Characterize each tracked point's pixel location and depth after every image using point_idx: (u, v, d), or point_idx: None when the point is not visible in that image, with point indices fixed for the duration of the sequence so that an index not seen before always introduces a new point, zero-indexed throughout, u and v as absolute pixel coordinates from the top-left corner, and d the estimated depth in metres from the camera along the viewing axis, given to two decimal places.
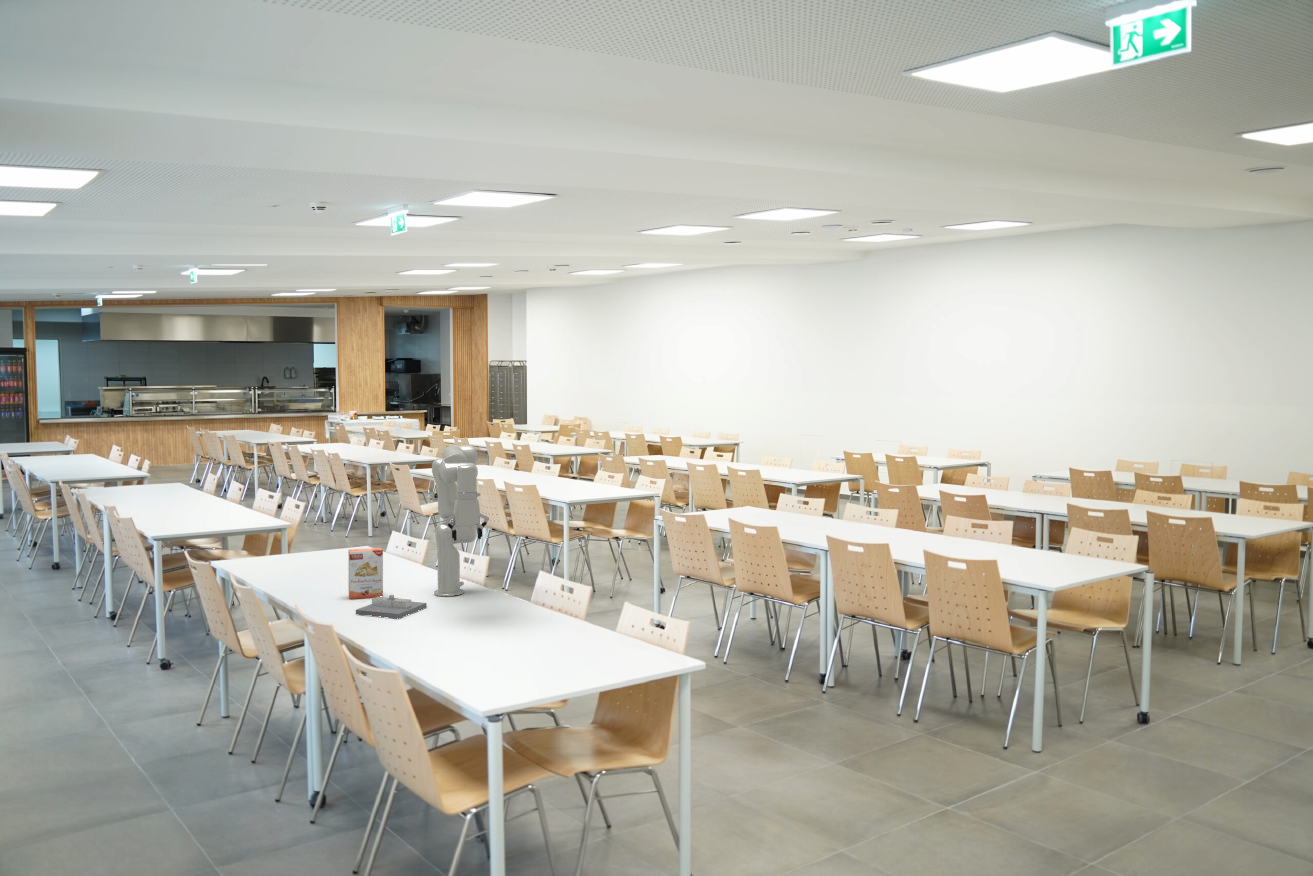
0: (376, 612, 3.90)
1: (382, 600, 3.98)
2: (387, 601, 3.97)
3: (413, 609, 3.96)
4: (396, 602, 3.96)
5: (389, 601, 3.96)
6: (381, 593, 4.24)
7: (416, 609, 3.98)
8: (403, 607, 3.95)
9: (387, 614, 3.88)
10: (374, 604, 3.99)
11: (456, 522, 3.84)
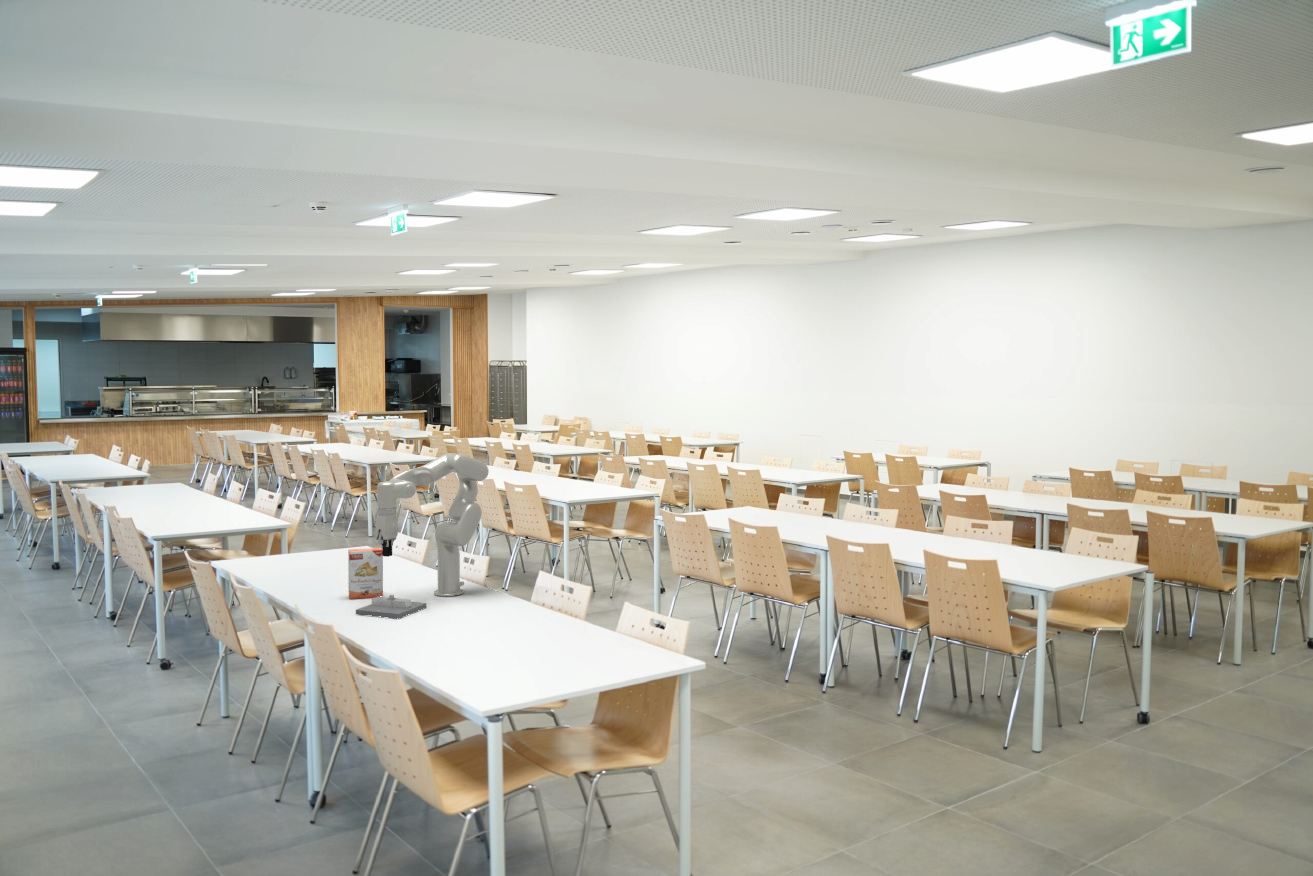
0: (376, 612, 3.90)
1: (382, 600, 3.98)
2: (387, 601, 3.97)
3: (413, 609, 3.96)
4: (396, 602, 3.96)
5: (389, 601, 3.96)
6: (381, 593, 4.24)
7: (416, 609, 3.98)
8: (403, 607, 3.95)
9: (387, 614, 3.88)
10: (374, 604, 3.99)
11: (384, 537, 4.01)
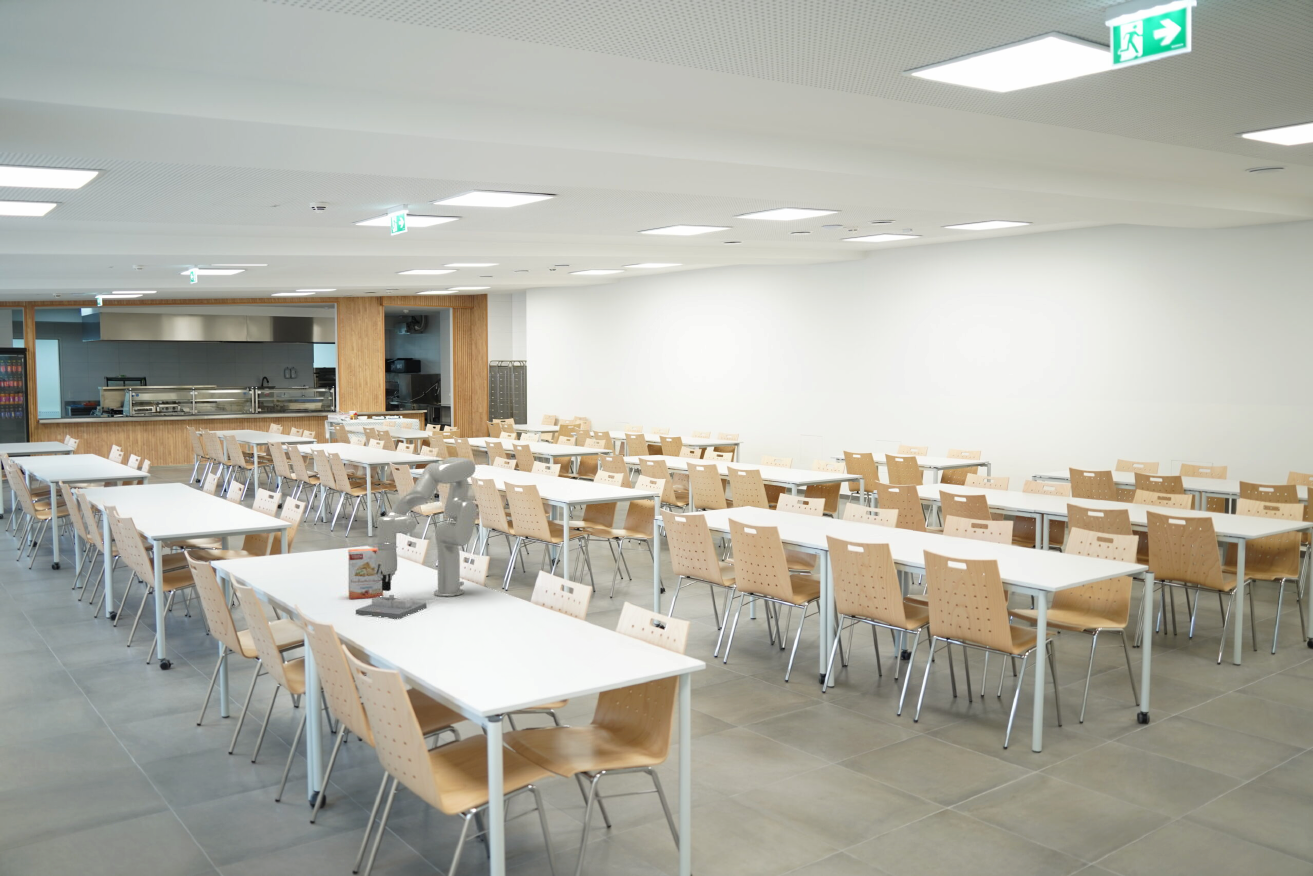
0: (376, 612, 3.90)
1: (382, 600, 3.98)
2: (387, 601, 3.97)
3: (413, 609, 3.96)
4: (396, 602, 3.96)
5: (389, 601, 3.96)
6: (381, 593, 4.24)
7: (416, 609, 3.98)
8: (403, 607, 3.95)
9: (387, 614, 3.88)
10: (374, 604, 3.99)
11: (384, 572, 4.02)
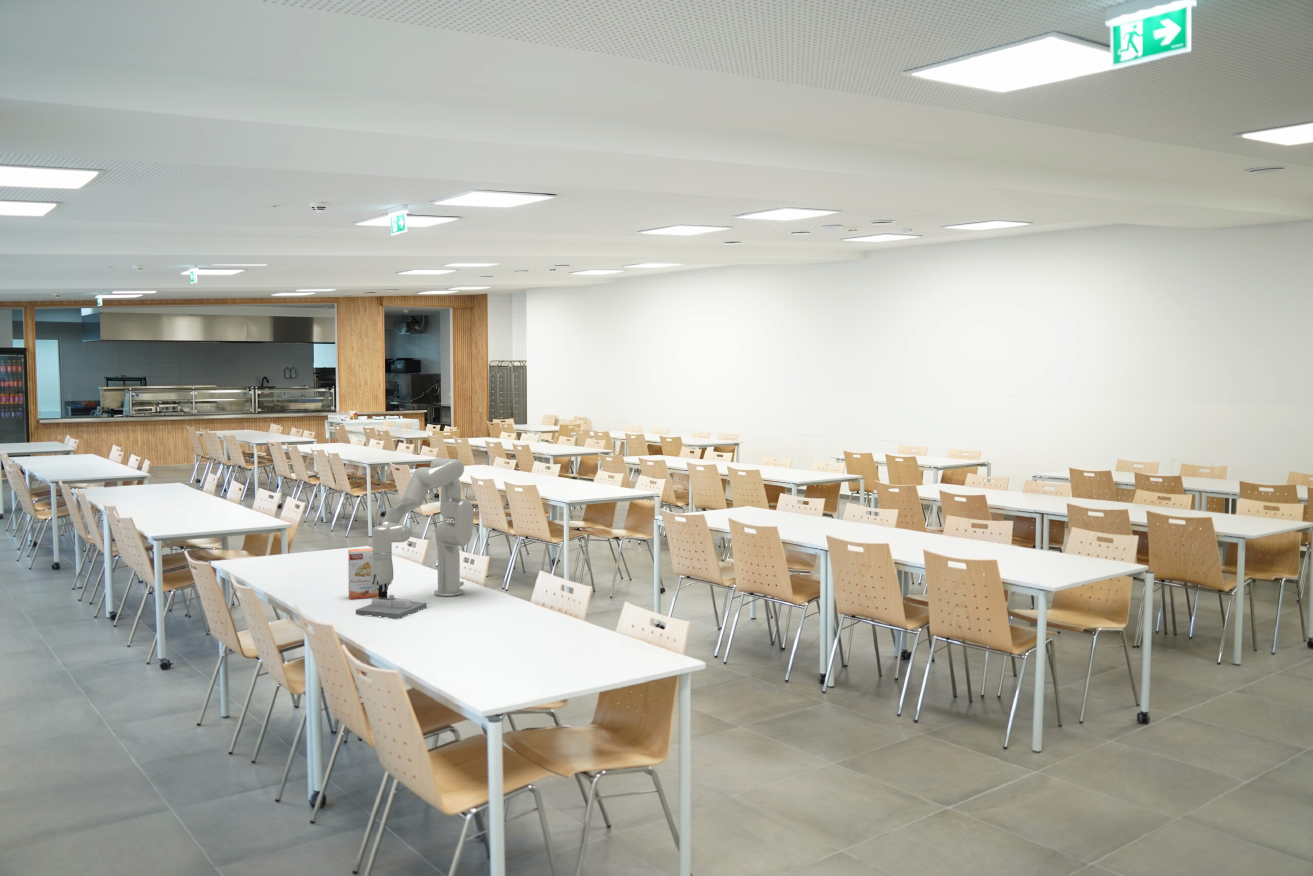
0: (376, 612, 3.90)
1: (382, 600, 3.98)
2: (387, 601, 3.96)
3: (413, 609, 3.96)
4: (396, 602, 3.96)
5: (389, 601, 3.96)
6: None
7: (416, 609, 3.98)
8: (403, 607, 3.95)
9: (387, 614, 3.88)
10: (374, 604, 3.99)
11: (380, 582, 3.99)
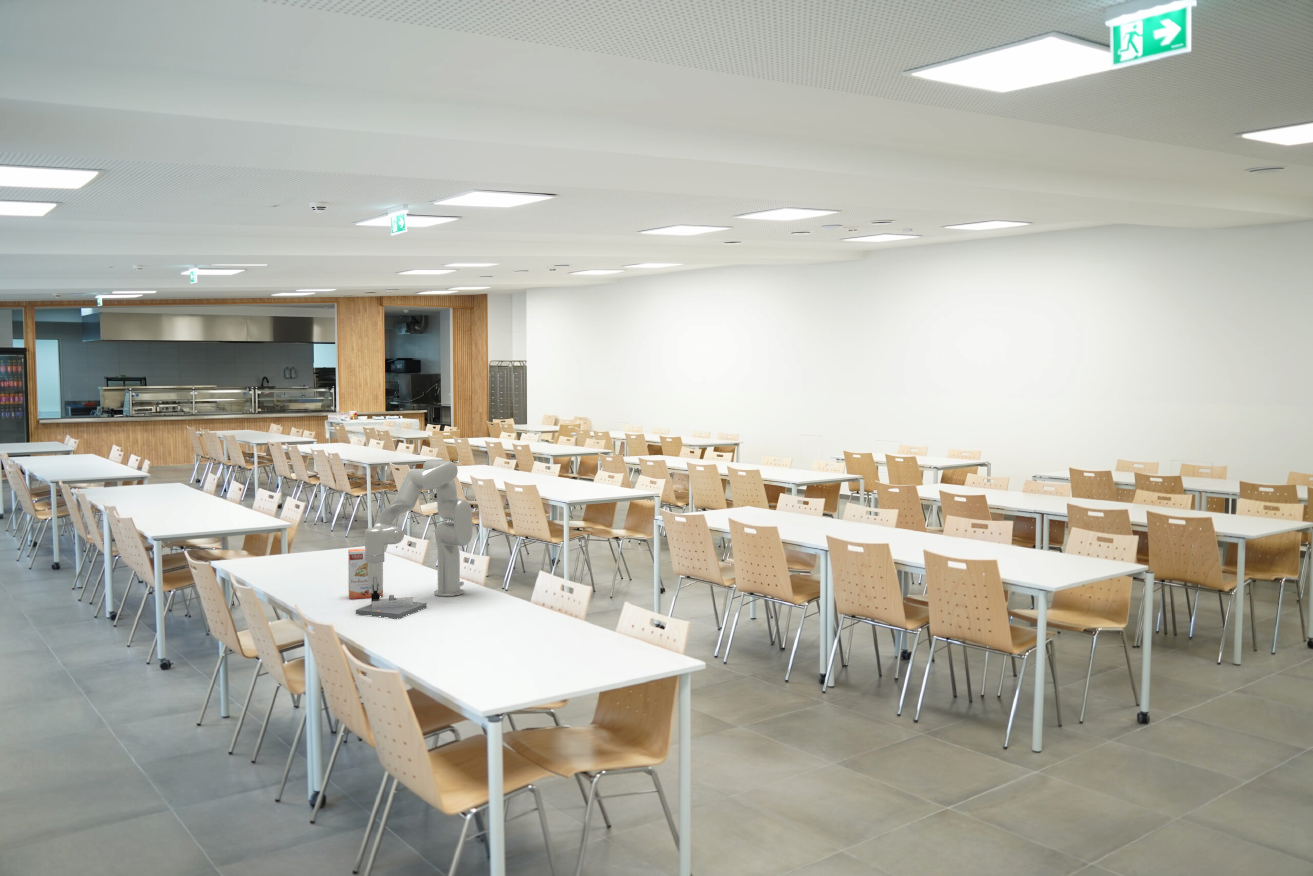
0: (376, 612, 3.90)
1: (385, 601, 3.96)
2: (392, 601, 3.96)
3: (413, 609, 3.96)
4: (402, 601, 3.98)
5: (394, 601, 3.96)
6: (381, 593, 4.24)
7: (416, 609, 3.98)
8: (410, 605, 3.99)
9: (387, 614, 3.88)
10: (375, 607, 3.95)
11: (380, 584, 3.96)
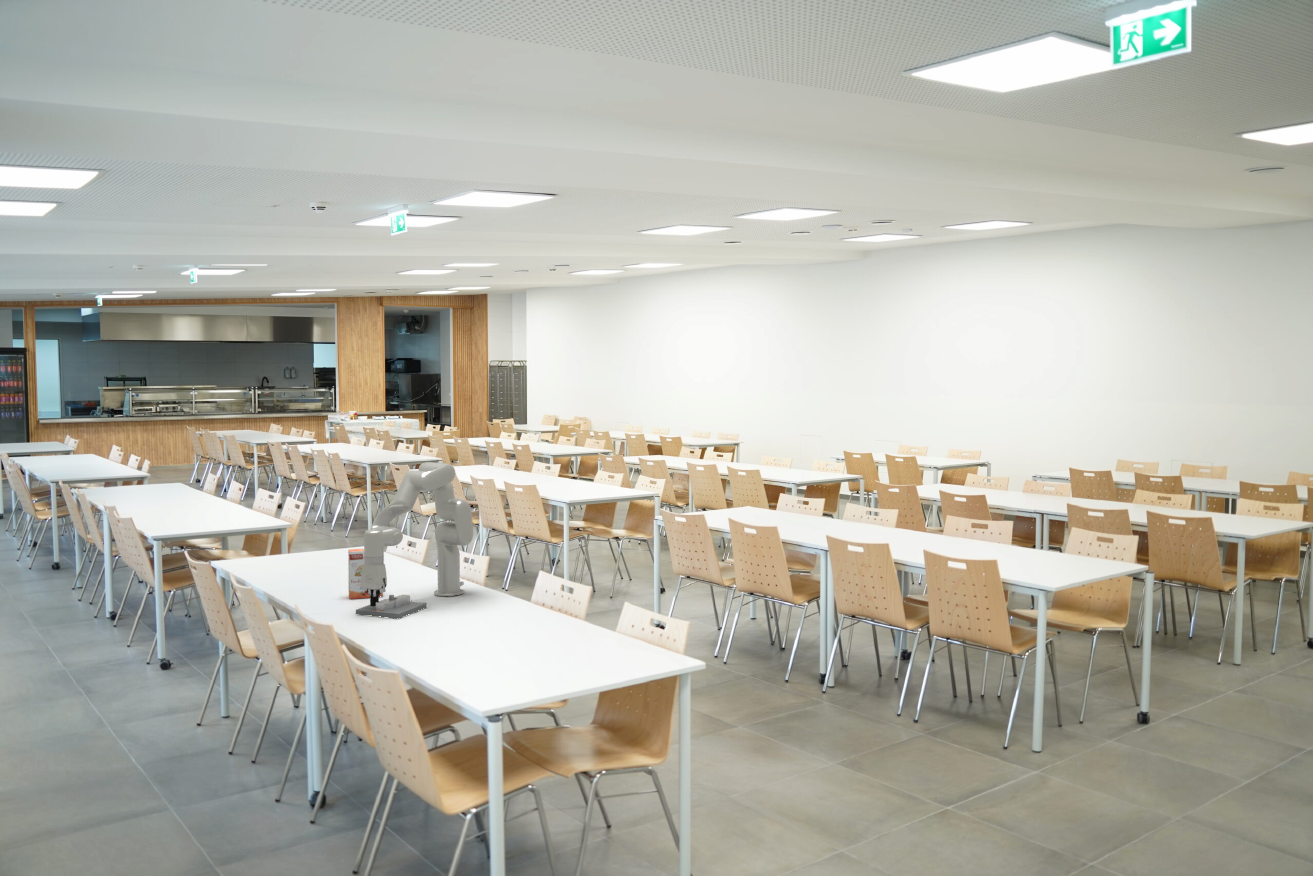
0: (376, 612, 3.90)
1: (392, 601, 3.96)
2: (398, 600, 3.98)
3: (413, 609, 3.96)
4: (403, 599, 4.02)
5: (399, 600, 3.99)
6: (381, 593, 4.24)
7: (416, 609, 3.98)
8: (408, 601, 4.05)
9: (387, 614, 3.88)
10: (385, 608, 3.92)
11: None
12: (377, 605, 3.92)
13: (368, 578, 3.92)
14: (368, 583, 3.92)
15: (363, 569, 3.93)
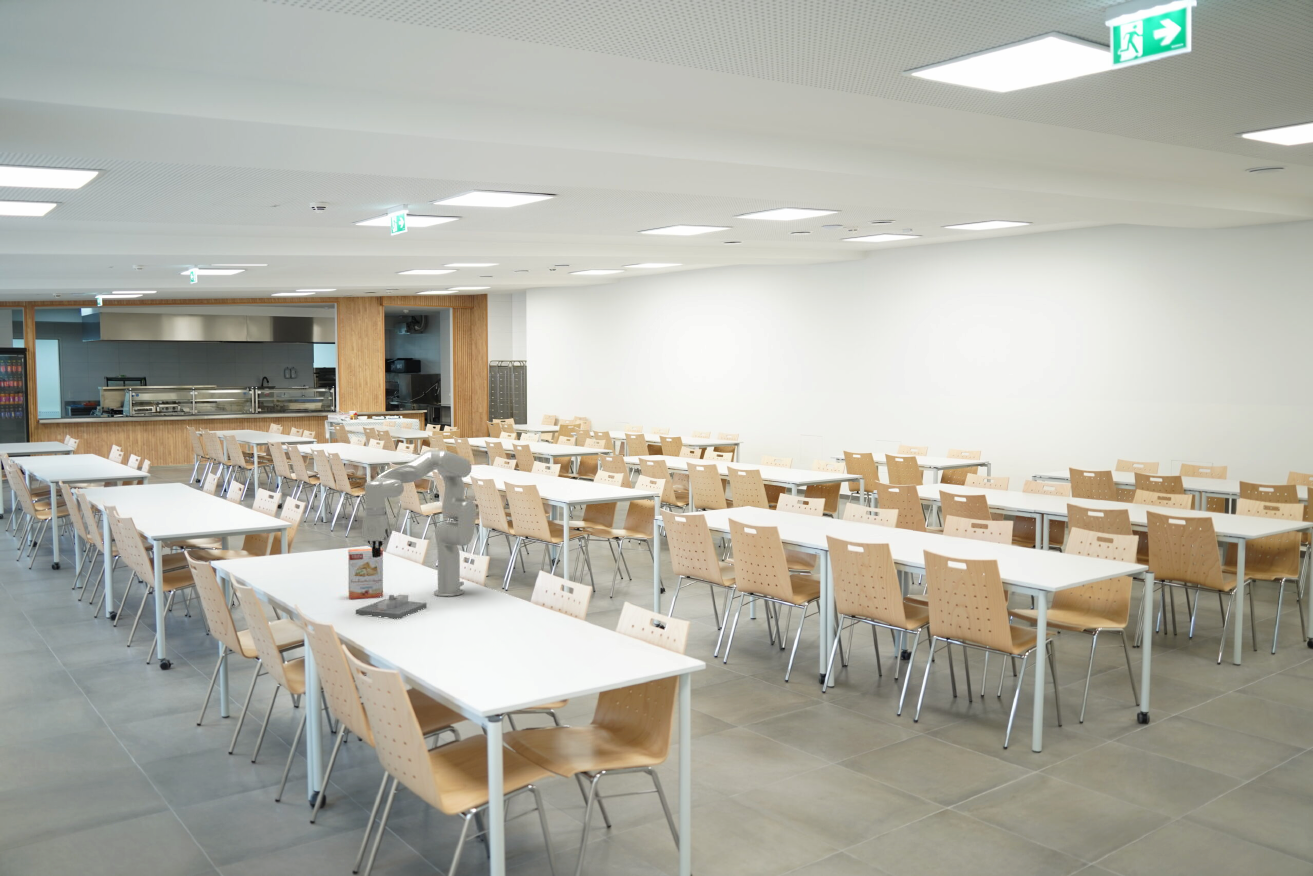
0: (376, 612, 3.90)
1: (393, 601, 3.96)
2: (398, 600, 3.98)
3: (413, 609, 3.96)
4: (402, 599, 4.02)
5: (399, 599, 3.99)
6: (381, 593, 4.24)
7: (416, 609, 3.98)
8: (406, 601, 4.05)
9: (387, 614, 3.88)
10: (388, 608, 3.92)
11: None
12: (379, 606, 3.92)
13: (371, 530, 3.92)
14: (370, 535, 3.92)
15: (364, 521, 3.93)
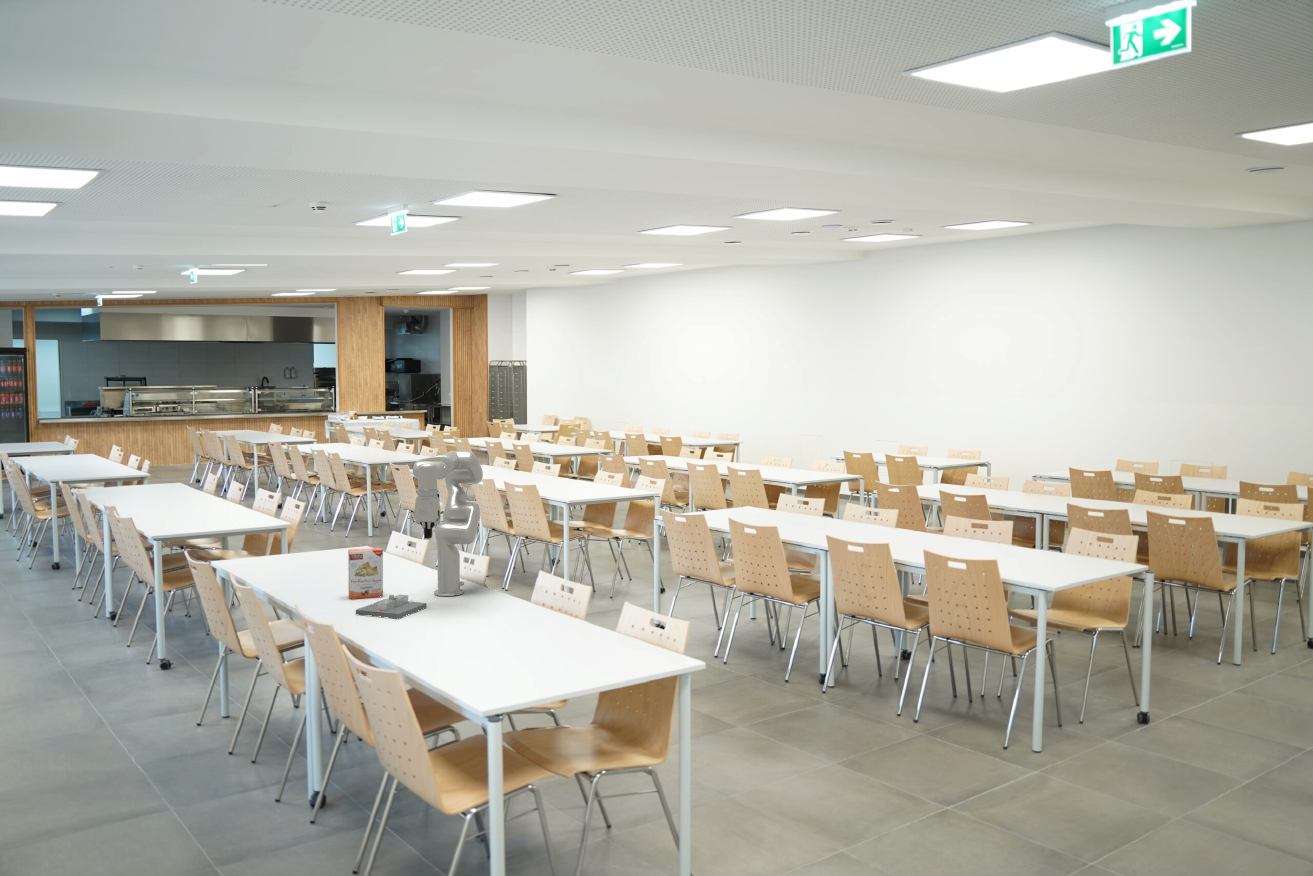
0: (376, 612, 3.90)
1: (393, 601, 3.96)
2: (398, 600, 3.98)
3: (413, 609, 3.96)
4: (402, 599, 4.02)
5: (399, 599, 3.99)
6: (381, 593, 4.24)
7: (416, 609, 3.98)
8: (406, 601, 4.05)
9: (387, 614, 3.88)
10: (388, 608, 3.92)
11: None
12: (379, 606, 3.92)
13: (423, 511, 4.00)
14: (422, 516, 4.00)
15: (417, 502, 4.01)
